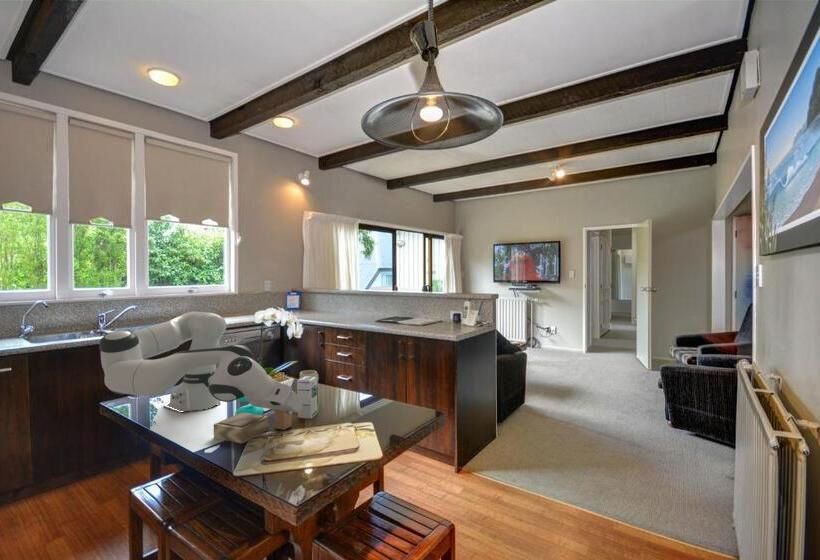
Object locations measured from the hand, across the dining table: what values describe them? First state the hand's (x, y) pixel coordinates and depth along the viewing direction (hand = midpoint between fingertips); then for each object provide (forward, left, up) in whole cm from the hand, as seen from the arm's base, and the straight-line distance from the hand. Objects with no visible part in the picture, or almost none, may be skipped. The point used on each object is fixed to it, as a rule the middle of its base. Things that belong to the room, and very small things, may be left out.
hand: (284, 411), depth 135 cm
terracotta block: (0, -1, -5) cm, 5 cm away
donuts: (-20, +4, -6) cm, 21 cm away
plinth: (-10, -10, -6) cm, 15 cm away
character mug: (-8, +25, -6) cm, 27 cm away
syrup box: (+1, +12, -6) cm, 14 cm away
